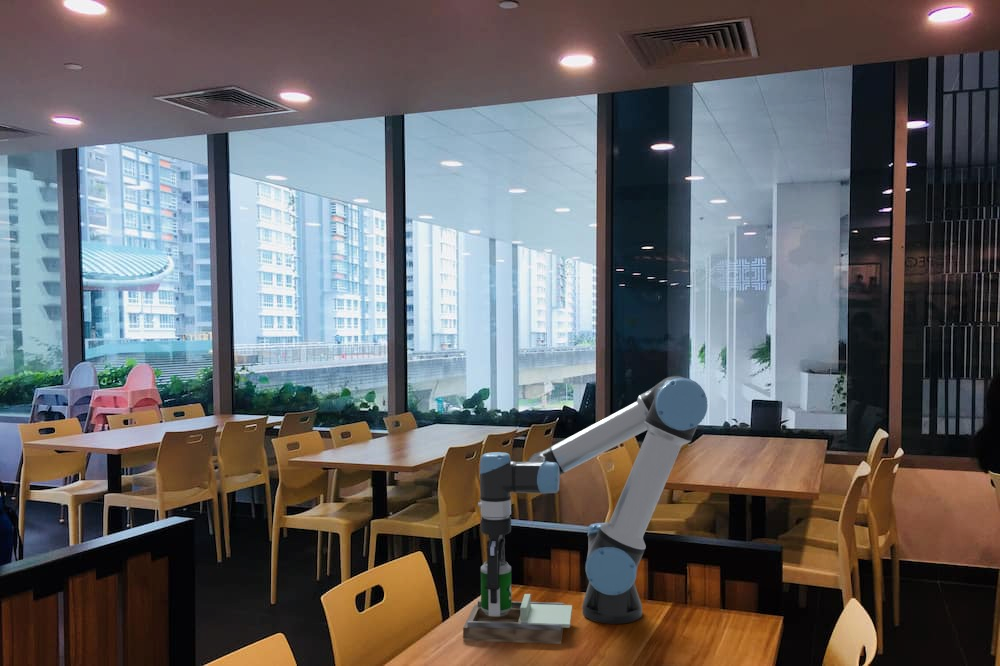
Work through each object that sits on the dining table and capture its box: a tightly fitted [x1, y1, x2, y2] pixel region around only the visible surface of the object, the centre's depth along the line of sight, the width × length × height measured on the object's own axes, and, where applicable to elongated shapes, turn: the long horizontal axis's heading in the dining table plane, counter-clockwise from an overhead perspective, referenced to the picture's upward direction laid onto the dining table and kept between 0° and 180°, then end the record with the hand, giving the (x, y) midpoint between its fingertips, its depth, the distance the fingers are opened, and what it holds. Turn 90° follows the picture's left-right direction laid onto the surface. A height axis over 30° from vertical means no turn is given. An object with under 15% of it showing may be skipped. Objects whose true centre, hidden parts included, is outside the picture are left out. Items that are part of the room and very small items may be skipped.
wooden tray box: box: [462, 599, 565, 645], centre depth 188 cm, size 23×16×4 cm
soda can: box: [480, 560, 513, 617], centre depth 189 cm, size 8×8×12 cm
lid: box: [520, 593, 573, 629], centre depth 187 cm, size 12×13×4 cm
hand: (496, 609), depth 189 cm, fingers closed on soda can, 7 cm apart
